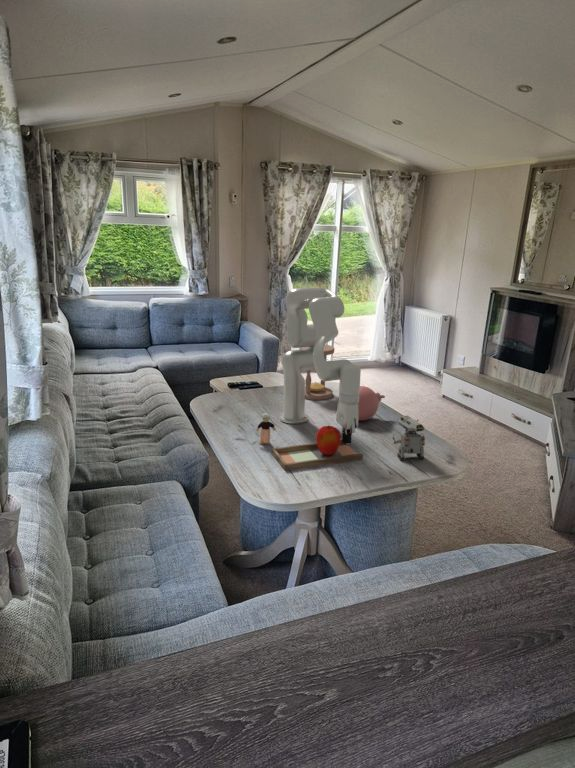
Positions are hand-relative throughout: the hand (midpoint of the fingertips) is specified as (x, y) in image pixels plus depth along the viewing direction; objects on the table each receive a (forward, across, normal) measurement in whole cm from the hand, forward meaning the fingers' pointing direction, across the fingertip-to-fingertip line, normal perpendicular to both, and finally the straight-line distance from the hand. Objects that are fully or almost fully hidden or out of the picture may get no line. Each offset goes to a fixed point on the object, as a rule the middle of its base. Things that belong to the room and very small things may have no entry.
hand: (346, 442), depth 203 cm
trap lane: (+4, 0, -12) cm, 12 cm away
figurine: (+4, +10, +21) cm, 24 cm away
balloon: (+4, -31, +24) cm, 40 cm away
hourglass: (+4, -70, +17) cm, 72 cm away
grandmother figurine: (+4, -18, -27) cm, 32 cm away
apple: (+4, 0, -8) cm, 9 cm away
